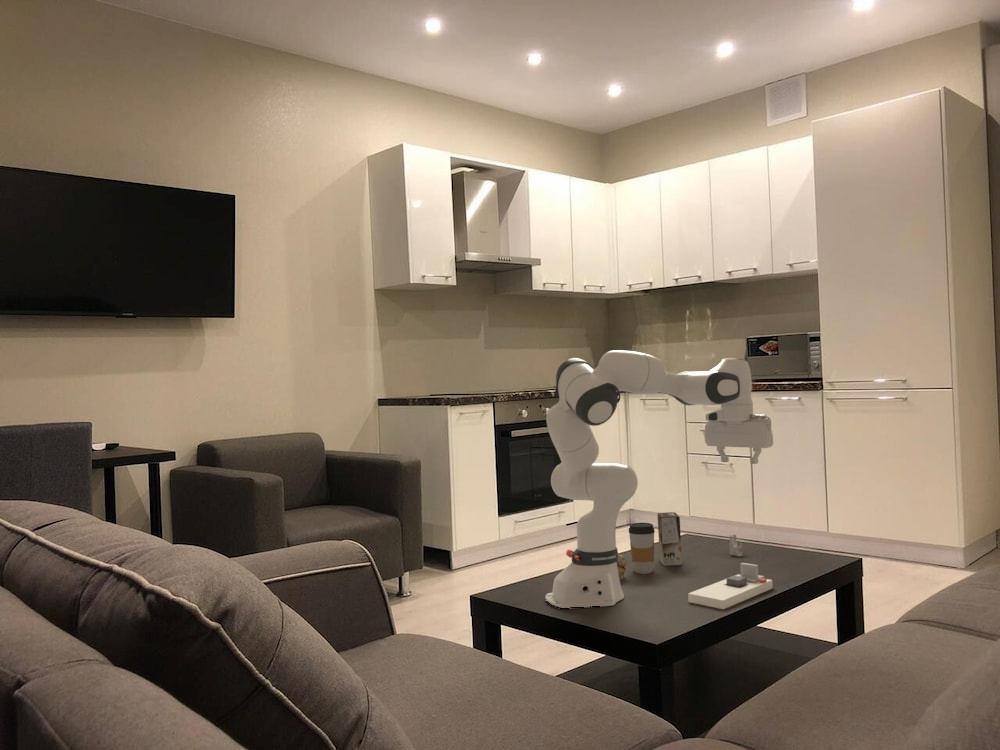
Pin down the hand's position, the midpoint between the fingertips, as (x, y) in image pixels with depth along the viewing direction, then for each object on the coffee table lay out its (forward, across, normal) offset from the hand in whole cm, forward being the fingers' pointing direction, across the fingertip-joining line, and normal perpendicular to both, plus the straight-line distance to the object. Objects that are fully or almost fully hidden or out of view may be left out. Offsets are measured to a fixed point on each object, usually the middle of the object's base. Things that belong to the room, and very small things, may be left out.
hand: (739, 462), depth 232 cm
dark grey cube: (+37, +2, +2) cm, 37 cm away
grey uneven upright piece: (+38, +24, -43) cm, 62 cm away
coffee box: (+37, +38, -16) cm, 56 cm away
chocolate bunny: (+37, +40, +11) cm, 56 cm away
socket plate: (+37, +2, +5) cm, 37 cm away
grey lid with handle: (+35, +2, -5) cm, 35 cm away
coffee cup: (+37, +38, -2) cm, 53 cm away
